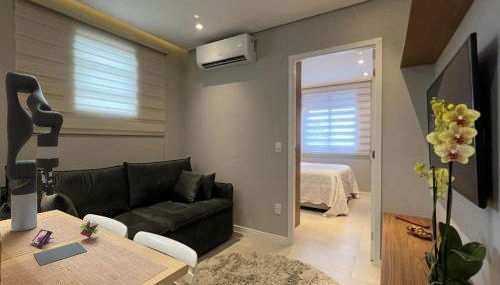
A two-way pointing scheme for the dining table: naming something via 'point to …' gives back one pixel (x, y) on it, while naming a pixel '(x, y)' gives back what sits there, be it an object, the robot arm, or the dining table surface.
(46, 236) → the game card
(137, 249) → the dining table surface
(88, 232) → the geometric puzzle
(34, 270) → the dining table surface
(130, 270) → the dining table surface
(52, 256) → the mat
